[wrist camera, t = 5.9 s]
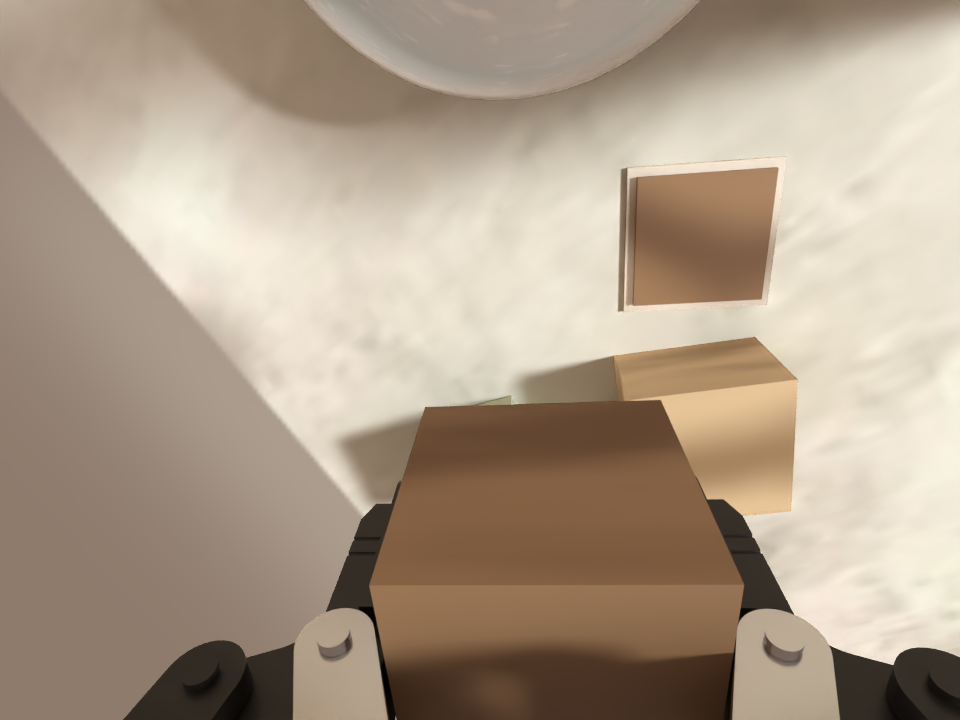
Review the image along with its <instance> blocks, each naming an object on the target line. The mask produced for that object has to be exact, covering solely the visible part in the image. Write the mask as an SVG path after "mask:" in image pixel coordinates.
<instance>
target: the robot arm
mask: <svg viewBox="0 0 960 720" xmlns="http://www.w3.org/2000/svg"><path fill="white" fill-rule="evenodd" d="M695 477H696V476H695ZM696 479H697V477H696ZM697 481H698V483H699V480H698V479H697ZM401 483H402V481H399V483H398V485H397V488H396V491H395V494H394V497H393V500H392V504H376V505H375V506H374V507H373V508H372V509H371V510H370V511H369V512H368V513H367V514H366V515H365V516H364V517H363V518H362V519H361V521H360V524H359V527H358V529H357V532H356V535H355V537H354V541H353V542H352V545H351V547H350V550H349V556H347V558H346V561H345V563H344V566H343V569H342V571H341V574H340V576H339V580H338V581H337V584H336V587H335V590H334V592H333V595H332V597H331V600H330V603H329V605H328V608H327V610H326V612H325V613H323V614H321V615H319V616H318V617H316V618H314V619H313V620H312V621H311V622H309V623H308V624H307V625H306V626H305V627H304V628H303V630H302V631H301V632H300V634H299V636H298V638H297V640H296V642H295V643H293V644H291V645H288V646H286V647H283V648H280V649H276V650H273V651H269V652H266V653H262V654H258V655H255V656H251V657H248V658H246V656H245V654H244V652H243V650H242V649H241V647H240V646H238V645H237V644H235V643H233V642H230V641H212V642H208V643H204V644H202V645H199V646H197V647H195V648H193V649H191V650H189V651H188V652H186V653H185V654H184V655H182V656H181V657H179V658H178V659H177V660H176V661H175V662H174V663H173V664H172V665H171V666H170V667H169V668H168V669H167V670H166V671H165V673H164V674H163V675H162V676H161V677H160V678H159V679H158V680H157V682H156V683H155V684H154V685H153V686H152V687H151V689H150V690H149V691H148V692H147V693H146V694H145V695H144V697H143V698H142V699H141V700H140V701H139V702H138V703H137V705H136V706H135V707H134V708H133V709H132V710H131V712H130V713H129V714H128V715H127V716H126V717H125V718H124V719H123V720H395V717H396V713H395V708H394V703H393V698H392V693H391V689H390V684H389V679H388V674H387V669H386V664H385V660H384V655H383V650H382V645H381V640H380V636H379V631H378V626H377V621H376V616H375V611H374V607H373V602H372V597H371V592H370V587H369V584H370V581H371V578H372V575H373V572H374V568H375V565H376V562H377V559H378V556H379V553H380V549H381V546H382V543H383V540H384V537H385V533H386V530H387V527H388V524H389V521H390V518H391V514H392V511H393V508H394V505H395V502H396V499H397V495H398V492H399V489H400V486H401ZM699 486H700V488H701V490H702V492H703V495H704V497H705V499H706V501H707V503H708V506H709V508H710V510H711V512H712V514H713V517H714V519H715V521H716V523H717V525H718V528H719V530H720V532H721V534H722V537H723V539H724V541H725V543H726V545H727V548H728V550H729V552H730V554H731V556H732V559H733V561H734V563H735V565H736V567H737V570H738V572H739V574H740V576H741V579H742V581H743V583H744V590H743V596H742V602H741V609H740V615H739V621H738V628H737V634H736V641H735V647H734V653H733V660H732V666H731V672H730V679H729V685H728V692H727V698H726V704H725V711H724V717H723V720H960V657H957V656H955V655H953V654H950V653H947V652H944V651H941V650H937V649H931V648H911V649H908V650H905V651H903V652H902V653H900V654H899V655H898V657H897V658H896V660H895V663H894V665H890V664H886V663H883V662H879V661H875V660H871V659H868V658H864V657H860V656H856V655H853V654H849V653H846V652H843V651H841V650H838V649H836V648H834V647H832V646H830V645H829V644H828V643H827V641H826V640H825V638H824V637H823V636H822V634H821V633H820V632H819V631H818V630H817V629H816V628H814V627H813V626H812V625H811V624H809V623H808V622H806V621H805V620H803V619H801V618H800V617H798V616H795V615H794V613H793V612H792V610H791V608H790V606H789V604H788V602H787V600H786V598H785V596H784V594H783V592H782V591H781V589H780V587H779V585H778V583H777V581H776V579H775V577H774V575H773V573H772V571H771V569H770V568H769V566H768V564H767V562H766V560H765V558H764V556H763V554H761V553H760V548H759V546H758V545H757V543H756V541H755V539H754V538H752V533H751V531H750V529H749V527H748V525H747V523H746V522H745V520H744V518H743V516H742V515H741V514H740V513H739V512H738V511H737V510H736V509H734V508H733V507H732V506H731V505H730V504H729V503H727V502H726V501H725V500H724V499H707V498H706V496H705V494H704V491H703V489H702V487H701V485H700V483H699Z"/></svg>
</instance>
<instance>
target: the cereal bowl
mask: <svg viewBox="0 0 960 720" xmlns="http://www.w3.org/2000/svg"><path fill="white" fill-rule="evenodd" d="M303 1H304V2H305V3H306V4H307V5H308V6H309V7H310V8H311V10H312V11H313V12H314V13H315V14H316V15H317V16H318V17H319V18H320V19H321V20H322V21H323V22H324V23H325V24H326V25H327V26H328V27H329V28H330V29H331V30H332V31H333V32H334V33H335V34H337V35H338V36H339V37H340V38H341V39H343V40H344V41H345V42H346V43H347V44H349V45H350V46H351V47H352V48H353V49H355V50H356V51H357V52H358V53H360V54H361V55H363V56H364V57H366V58H367V59H369V60H370V61H372V62H373V63H375V64H376V65H378V66H380V67H381V68H383V69H384V70H386V71H387V72H389V73H391V74H393V75H395V76H397V77H400V78H402V79H404V80H406V81H408V82H410V83H412V84H414V85H416V86H419V87H423V88H427V89H430V90H433V91H435V92H439V93H443V94H446V95H451V96H458V97H463V98H474V99H481V100H482V99H488V100H507V99H508V100H511V99H523V98H528V97H534V96H542V95H545V94H550V93H555V92H558V91H561V90H565V89H569V88H572V87H574V86H576V85H579V84H583V83H586V82H588V81H590V80H593V79H595V78H597V77H600V76H602V75H603V74H605V73H607V72H609V71H611V70H613V69H615V68H617V67H619V66H620V65H622V64H624V63H626V62H628V61H629V60H631V59H632V58H633V57H635V56H636V55H638V54H639V53H641V52H642V51H644V50H645V49H647V48H648V47H649V46H651V45H652V44H653V43H655V42H656V41H658V40H659V39H660V38H661V37H662V36H663V35H664V34H665V33H667V32H668V31H669V30H670V29H672V28H673V27H674V26H675V25H676V24H677V23H678V22H679V21H681V20H682V19H683V18H684V17H685V16H686V15H687V14H688V13H689V12H690V11H691V10H692V9H693V8H694V7H695V6H696V5H697V3H698V2H699V1H700V0H303Z"/></svg>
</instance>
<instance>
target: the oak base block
mask: <svg viewBox="0 0 960 720" xmlns="http://www.w3.org/2000/svg"><path fill="white" fill-rule="evenodd" d="M614 365H615V376H616V387H617V398H618V401H641V400H661V402H662V404H663V406H664V408H665V411H666V413H667V415H668V417H669V419H670V422H671V424H672V426H673V428H674V430H675V433H676V435H677V437H678V439H679V442H680V444H681V446H682V448H683V450H684V453H685V455H686V457H687V459H688V461H689V464H690V466H691V468H692V470H693V472H694V475H695V476H696V477H697V479H698V480H699V483H700V485H701V487H702V489H703V491H704V494H705V496H706V498H707V499H724V500H725V501H726V502H727V503H729V504H730V505H731V506H732V507H733V508H734V509H736V510H737V511H738V512H739V513H740V514H741V515H742V516H745V515H756V514H766V513H777V512H788V511H791V501H792V481H793V462H794V442H795V422H796V402H797V383H798V379H797V378H796V377H795V376H794V375H793V374H792V373H791V372H790V371H789V370H788V369H787V368H786V367H785V366H784V365H783V364H782V363H781V362H780V361H779V360H778V359H777V358H776V357H775V356H774V355H773V354H772V353H771V352H770V351H769V350H768V349H767V348H766V347H765V346H763V345H762V344H761V343H760V342H759V341H758V340H757V339H756V338H755V337H752V338H745V339H737V340H729V341H722V342H714V343H707V344H699V345H692V346H684V347H677V348H669V349H661V350H654V351H646V352H639V353H631V354H624V355H616V356H614Z"/></svg>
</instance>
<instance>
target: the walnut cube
mask: <svg viewBox="0 0 960 720" xmlns="http://www.w3.org/2000/svg"><path fill="white" fill-rule="evenodd" d="M369 587H370V592H371V597H372V602H373V607H374V611H375V616H376V621H377V626H378V631H379V636H380V640H381V645H382V650H383V655H384V660H385V664H386V669H387V674H388V679H389V684H390V689H391V693H392V698H393V703H394V708H395V713H396V718H397V720H723V717H724V711H725V704H726V698H727V692H728V685H729V679H730V672H731V666H732V660H733V653H734V647H735V641H736V634H737V628H738V621H739V615H740V609H741V602H742V596H743V590H744V583H743V581H742V579H741V576H740V574H739V572H738V570H737V567H736V565H735V563H734V561H733V559H732V556H731V554H730V552H729V550H728V548H727V545H726V543H725V541H724V539H723V537H722V534H721V532H720V530H719V528H718V525H717V523H716V521H715V519H714V517H713V514H712V512H711V510H710V508H709V506H708V503H707V501H706V499H705V497H704V495H703V492H702V490H701V488H700V486H699V483H698V481H697V479H696V477H695V475H694V472H693V470H692V468H691V466H690V464H689V461H688V459H687V457H686V455H685V453H684V450H683V448H682V446H681V444H680V442H679V439H678V437H677V435H676V433H675V430H674V428H673V426H672V424H671V422H670V419H669V417H668V415H667V413H666V411H665V408H664V406H663V404H662V402H661V400H641V401H609V402H577V403H545V404H514V405H482V406H450V407H425V410H424V413H423V416H422V419H421V422H420V426H419V429H418V432H417V435H416V438H415V441H414V445H413V448H412V451H411V454H410V457H409V460H408V464H407V467H406V470H405V473H404V476H403V479H402V483H401V486H400V489H399V492H398V495H397V499H396V502H395V505H394V508H393V511H392V514H391V518H390V521H389V524H388V527H387V530H386V533H385V537H384V540H383V543H382V546H381V549H380V553H379V556H378V559H377V562H376V565H375V568H374V572H373V575H372V578H371V581H370V584H369Z"/></svg>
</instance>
